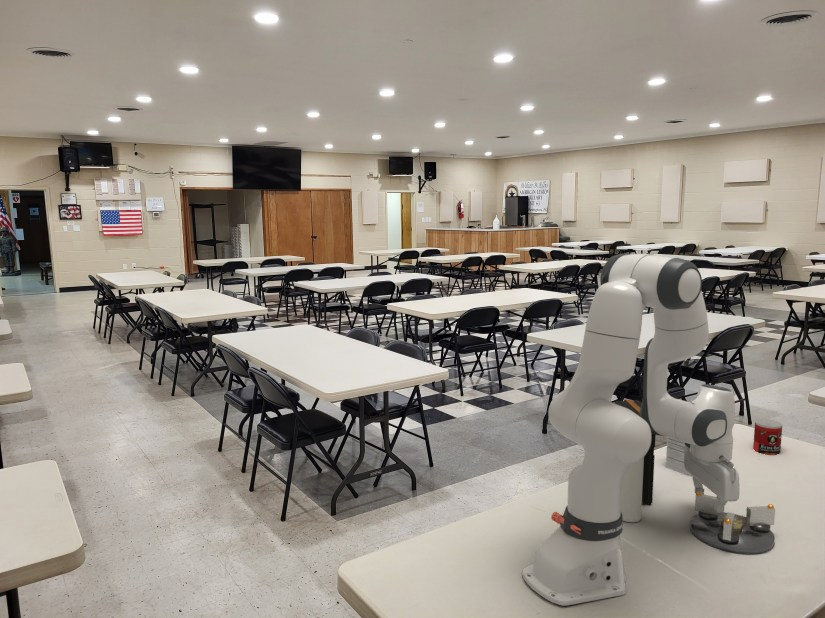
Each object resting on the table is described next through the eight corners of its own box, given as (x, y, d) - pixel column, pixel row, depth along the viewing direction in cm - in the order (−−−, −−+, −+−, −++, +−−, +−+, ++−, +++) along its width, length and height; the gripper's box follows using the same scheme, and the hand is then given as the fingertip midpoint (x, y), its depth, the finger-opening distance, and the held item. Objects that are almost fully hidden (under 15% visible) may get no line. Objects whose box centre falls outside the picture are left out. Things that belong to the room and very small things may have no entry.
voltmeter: (656, 506, 165) (661, 415, 161) (623, 506, 165) (627, 415, 162) (637, 482, 180) (640, 398, 177) (607, 481, 181) (610, 398, 177)
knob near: (719, 531, 148) (721, 507, 147) (740, 536, 145) (741, 512, 144) (715, 542, 143) (717, 517, 142) (737, 547, 140) (738, 522, 139)
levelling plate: (740, 561, 138) (741, 544, 137) (673, 526, 154) (674, 510, 153) (791, 543, 146) (792, 526, 145) (723, 511, 162) (724, 496, 161)
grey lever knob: (753, 533, 147) (754, 509, 146) (742, 524, 151) (743, 501, 150) (777, 532, 147) (779, 508, 146) (766, 523, 151) (767, 500, 150)
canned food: (758, 459, 197) (760, 426, 195) (748, 450, 205) (751, 418, 203) (784, 460, 195) (786, 427, 194) (774, 451, 203) (776, 419, 202)
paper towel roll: (627, 525, 155) (631, 442, 152) (610, 514, 160) (613, 434, 157) (649, 519, 158) (653, 438, 155) (632, 509, 163) (636, 431, 160)
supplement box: (682, 463, 194) (684, 416, 192) (709, 472, 187) (712, 424, 185) (664, 469, 189) (666, 422, 187) (691, 479, 182) (694, 430, 180)
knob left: (722, 516, 155) (724, 493, 154) (720, 523, 152) (721, 499, 151) (696, 510, 159) (697, 487, 158) (693, 516, 155) (694, 494, 154)
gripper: (749, 465, 143) (745, 522, 144) (703, 435, 163) (700, 485, 165) (722, 465, 142) (718, 522, 144) (680, 435, 163) (677, 486, 164)
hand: (708, 502), depth 155 cm, fingers open, 8 cm apart
